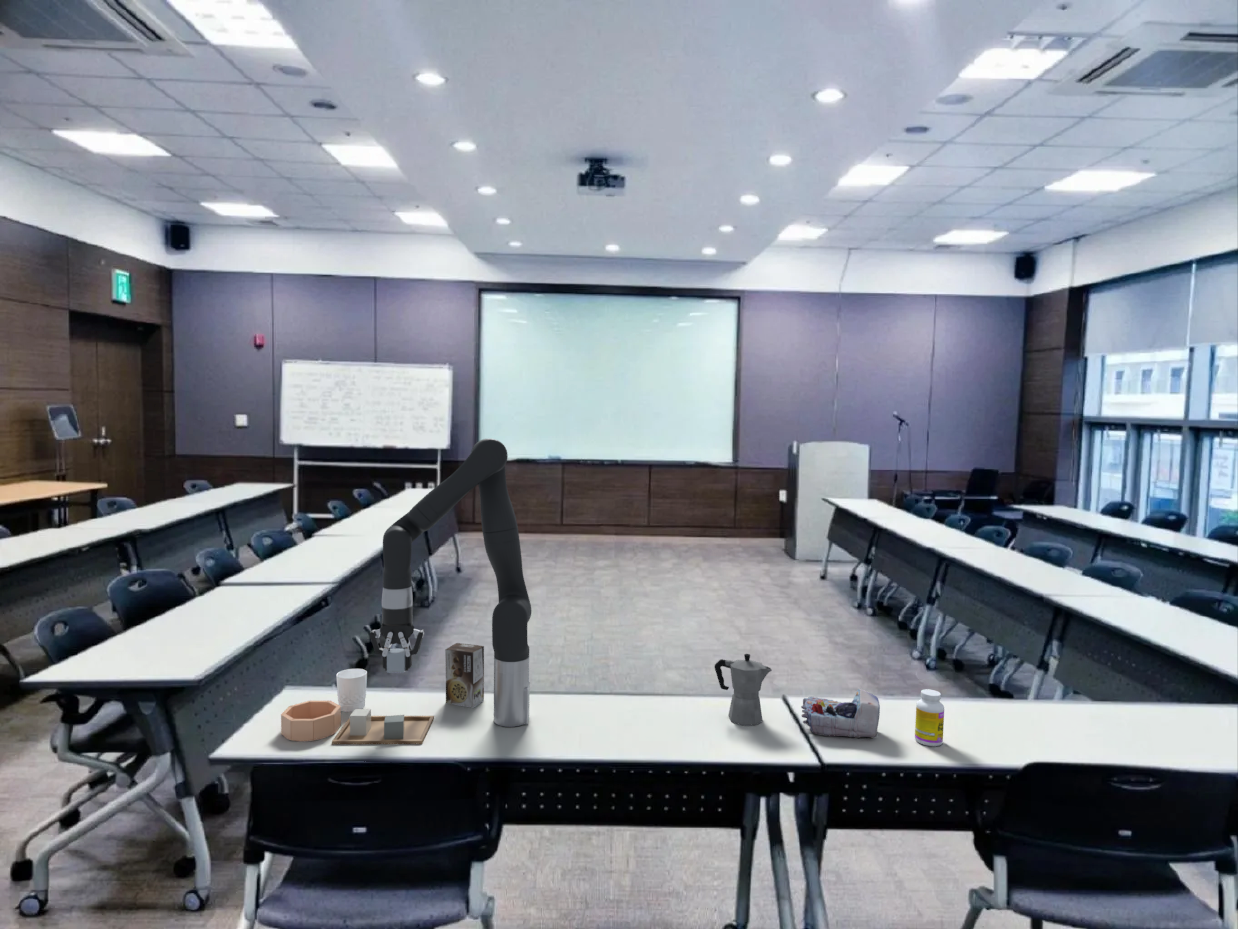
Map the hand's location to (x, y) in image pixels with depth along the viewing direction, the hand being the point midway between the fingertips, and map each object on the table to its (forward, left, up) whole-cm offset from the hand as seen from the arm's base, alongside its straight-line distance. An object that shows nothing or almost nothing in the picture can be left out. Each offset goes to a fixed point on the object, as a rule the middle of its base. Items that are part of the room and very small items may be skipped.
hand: (397, 669), depth 196 cm
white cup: (+15, -13, -16) cm, 25 cm away
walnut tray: (+2, +3, -15) cm, 16 cm away
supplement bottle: (-136, +9, -16) cm, 137 cm away
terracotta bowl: (+21, +3, -15) cm, 26 cm away
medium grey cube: (-1, +6, -15) cm, 16 cm away
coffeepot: (-91, -6, -16) cm, 92 cm away
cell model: (-115, +2, -16) cm, 116 cm away
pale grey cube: (+8, +4, -15) cm, 17 cm away
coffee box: (-15, -17, -16) cm, 27 cm away
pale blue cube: (0, 0, 0) cm, 0 cm away
